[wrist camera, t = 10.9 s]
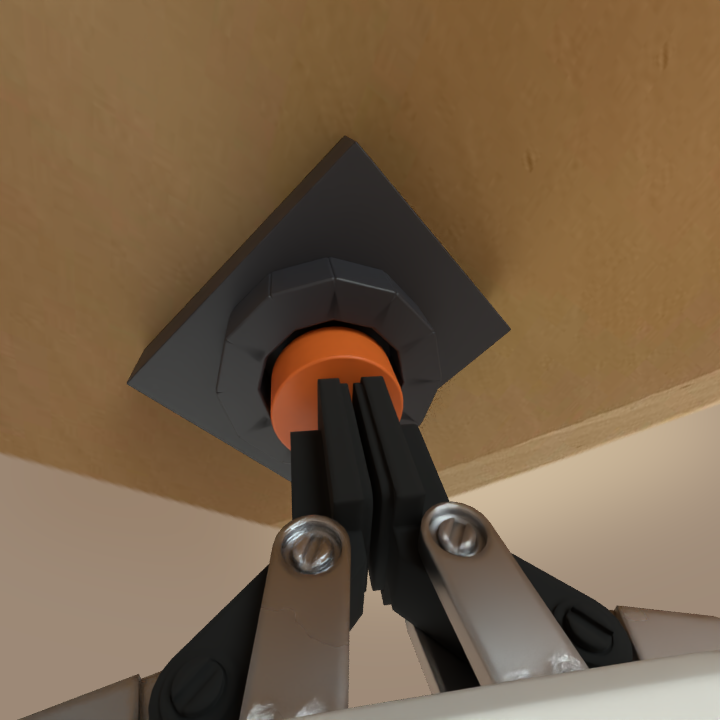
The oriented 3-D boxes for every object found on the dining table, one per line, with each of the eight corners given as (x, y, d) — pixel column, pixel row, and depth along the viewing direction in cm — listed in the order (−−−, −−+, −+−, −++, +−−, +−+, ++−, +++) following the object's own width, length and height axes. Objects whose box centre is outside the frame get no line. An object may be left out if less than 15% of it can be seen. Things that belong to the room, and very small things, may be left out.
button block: (144, 349, 15) (106, 419, 12) (345, 134, 13) (368, 147, 10) (306, 455, 19) (312, 531, 16) (486, 304, 17) (538, 356, 13)
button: (245, 383, 13) (241, 420, 11) (332, 300, 12) (340, 329, 10) (331, 442, 14) (337, 481, 13) (413, 374, 14) (430, 408, 12)
